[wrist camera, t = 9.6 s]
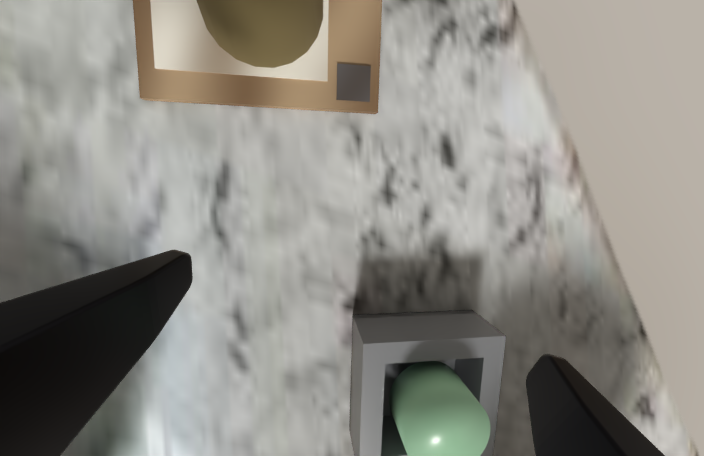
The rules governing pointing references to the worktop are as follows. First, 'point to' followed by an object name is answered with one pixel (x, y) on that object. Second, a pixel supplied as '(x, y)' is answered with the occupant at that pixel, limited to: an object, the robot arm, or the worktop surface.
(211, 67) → the tan rectangular board
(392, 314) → the button housing
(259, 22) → the cork
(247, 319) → the worktop surface
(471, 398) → the button
